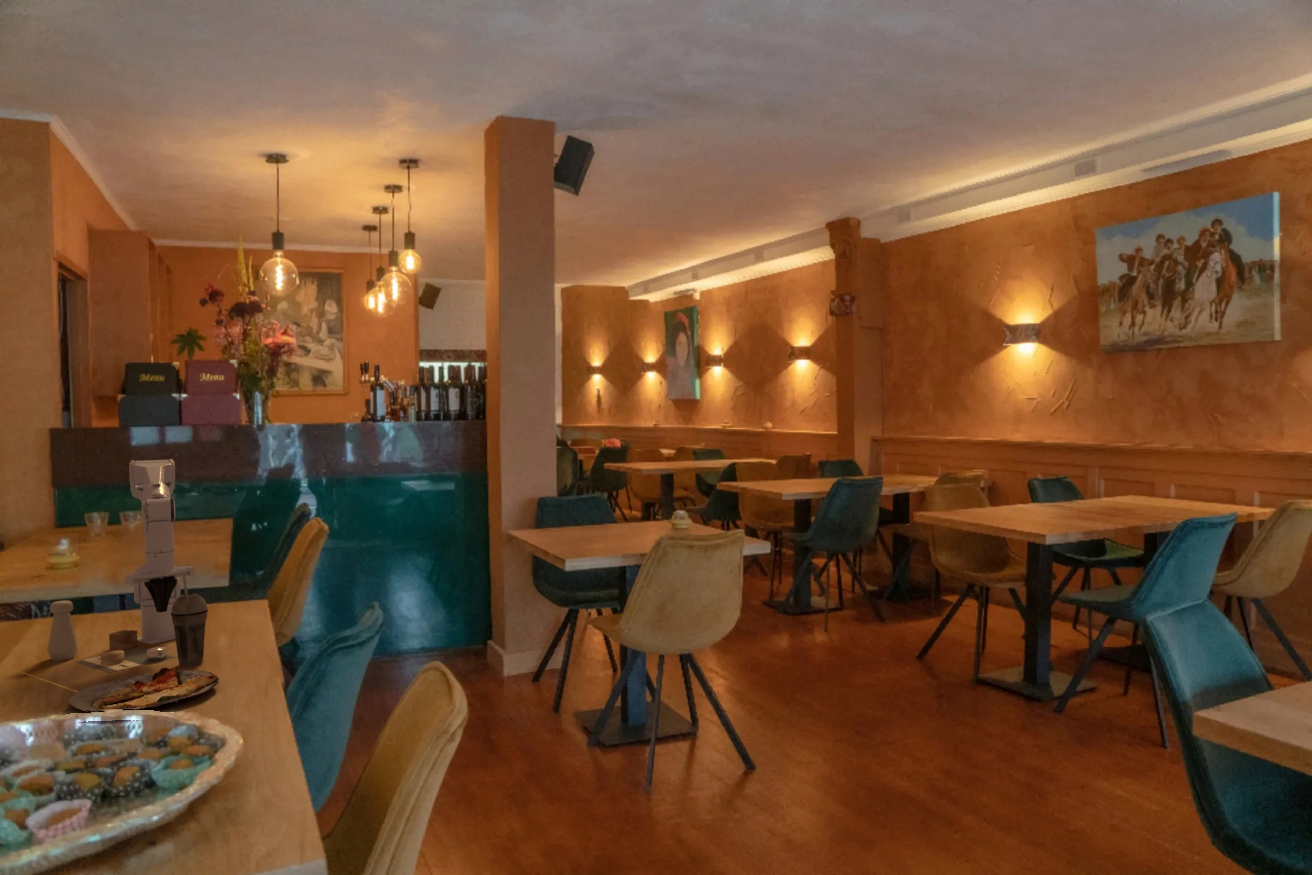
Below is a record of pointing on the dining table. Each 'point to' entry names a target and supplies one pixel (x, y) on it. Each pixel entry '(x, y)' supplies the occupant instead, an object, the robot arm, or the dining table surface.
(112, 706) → the food plate
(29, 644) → the dining table surface
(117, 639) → the walnut block
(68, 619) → the salt shaker
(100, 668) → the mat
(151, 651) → the tealight tin
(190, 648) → the beverage cup
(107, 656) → the beech disc
